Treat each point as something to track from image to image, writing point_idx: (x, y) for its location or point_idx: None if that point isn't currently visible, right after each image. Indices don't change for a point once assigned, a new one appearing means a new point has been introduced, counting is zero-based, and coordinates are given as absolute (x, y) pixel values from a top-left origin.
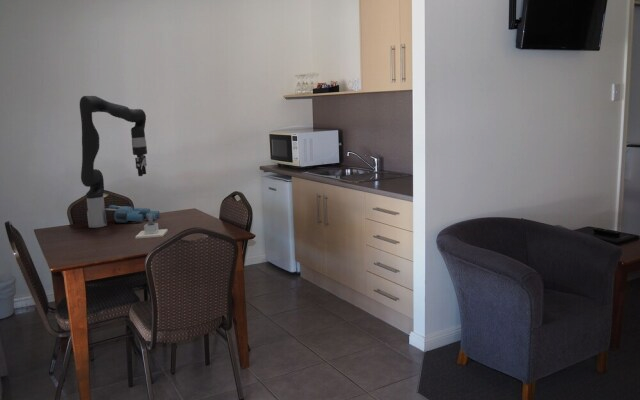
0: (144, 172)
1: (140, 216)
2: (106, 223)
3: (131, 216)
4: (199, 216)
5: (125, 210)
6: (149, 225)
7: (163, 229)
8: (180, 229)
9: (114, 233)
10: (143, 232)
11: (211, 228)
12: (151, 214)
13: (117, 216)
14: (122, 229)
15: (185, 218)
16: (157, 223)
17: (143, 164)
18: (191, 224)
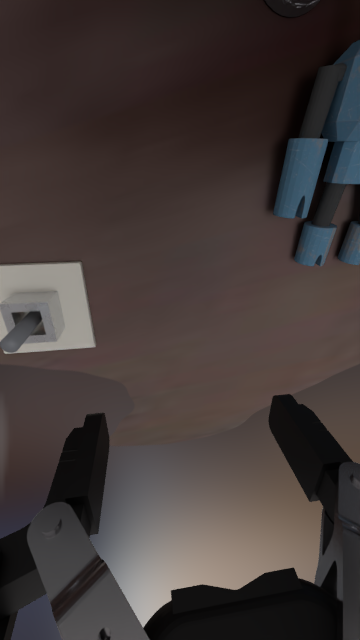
0: (280, 430)
1: (282, 211)
2: (300, 11)
3: (289, 165)
4: (288, 381)
5: (357, 114)
6: (8, 323)
7: (90, 335)
8: (110, 374)
9: (84, 134)
10: (48, 278)
11: None
12: (7, 351)
13: (321, 74)
14: (164, 152)
15: (278, 350)
16: (48, 341)
17: (322, 562)
18: (176, 386)
